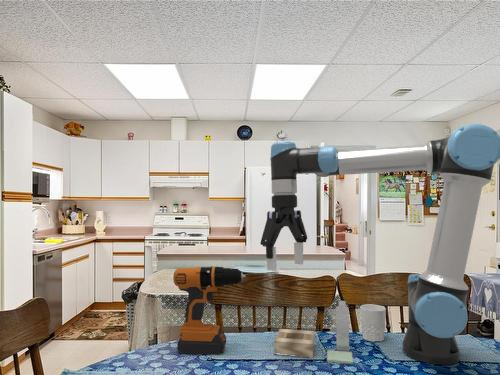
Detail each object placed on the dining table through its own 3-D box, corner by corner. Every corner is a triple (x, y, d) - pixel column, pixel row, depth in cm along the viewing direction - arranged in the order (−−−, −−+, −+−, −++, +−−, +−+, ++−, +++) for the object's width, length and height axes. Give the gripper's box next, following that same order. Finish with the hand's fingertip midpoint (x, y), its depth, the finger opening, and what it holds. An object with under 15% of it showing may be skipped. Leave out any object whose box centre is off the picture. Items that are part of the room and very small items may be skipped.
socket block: (314, 344, 119) (314, 331, 119) (312, 358, 108) (312, 344, 108) (279, 341, 121) (279, 328, 121) (274, 354, 110) (274, 340, 110)
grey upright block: (348, 345, 118) (348, 301, 118) (349, 352, 112) (348, 305, 113) (336, 344, 119) (336, 300, 119) (336, 351, 113) (336, 305, 114)
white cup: (365, 332, 130) (365, 303, 130) (389, 337, 125) (388, 306, 125) (357, 339, 123) (356, 308, 124) (381, 344, 119) (381, 312, 119)
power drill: (246, 346, 117) (246, 264, 118) (244, 355, 110) (244, 268, 111) (177, 344, 118) (177, 263, 119) (171, 354, 111) (171, 267, 112)
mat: (351, 354, 111) (351, 352, 111) (353, 364, 104) (353, 361, 104) (327, 352, 112) (327, 350, 112) (326, 361, 106) (326, 359, 106)
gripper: (297, 195, 124) (298, 260, 123) (246, 194, 105) (248, 271, 104) (317, 194, 119) (319, 262, 118) (268, 193, 101) (270, 274, 100)
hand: (286, 267), depth 111 cm, fingers open, 13 cm apart
